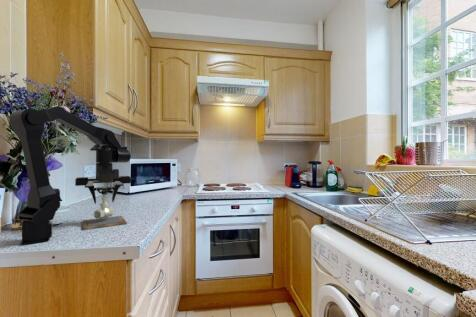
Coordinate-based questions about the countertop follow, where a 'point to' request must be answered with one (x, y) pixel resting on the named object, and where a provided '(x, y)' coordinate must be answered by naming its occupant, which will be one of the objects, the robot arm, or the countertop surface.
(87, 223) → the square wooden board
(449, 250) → the countertop surface
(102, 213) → the valve
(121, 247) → the countertop surface
